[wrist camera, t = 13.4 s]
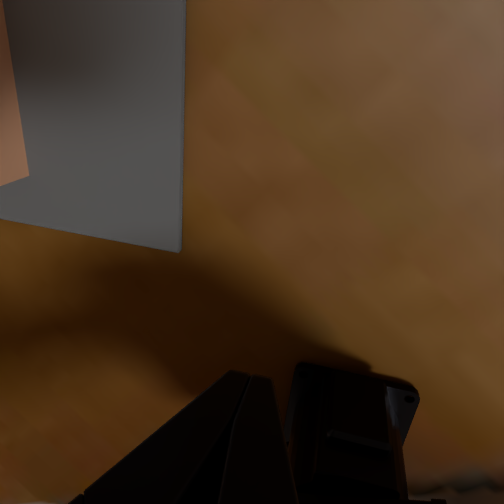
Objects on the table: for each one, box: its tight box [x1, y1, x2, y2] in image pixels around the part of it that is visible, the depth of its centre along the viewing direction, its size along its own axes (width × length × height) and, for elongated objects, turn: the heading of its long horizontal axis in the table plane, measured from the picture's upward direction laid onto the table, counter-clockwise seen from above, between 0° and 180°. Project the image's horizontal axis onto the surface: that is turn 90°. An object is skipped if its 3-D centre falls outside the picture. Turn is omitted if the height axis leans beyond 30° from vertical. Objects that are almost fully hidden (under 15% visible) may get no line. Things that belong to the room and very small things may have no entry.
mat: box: [0, 0, 186, 253], centre depth 19 cm, size 15×16×1 cm
